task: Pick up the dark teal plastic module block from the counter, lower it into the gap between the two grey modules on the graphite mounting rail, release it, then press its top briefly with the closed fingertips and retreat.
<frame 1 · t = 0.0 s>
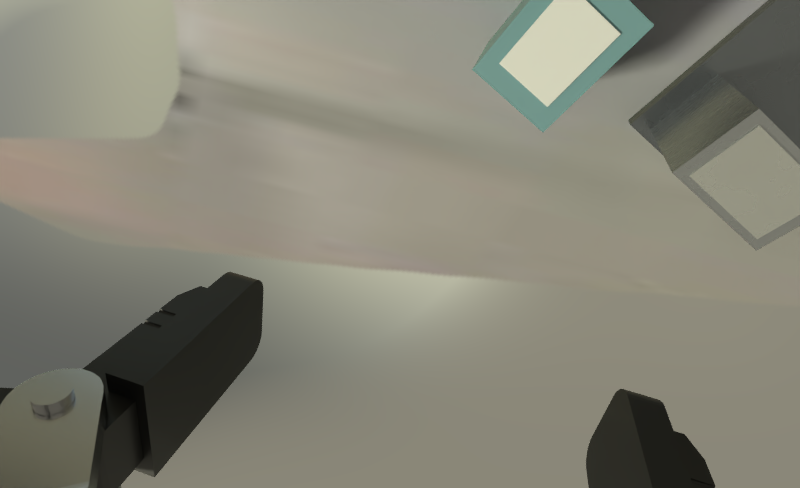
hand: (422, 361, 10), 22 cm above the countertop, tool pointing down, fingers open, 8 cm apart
module: (555, 24, 26), on the countertop
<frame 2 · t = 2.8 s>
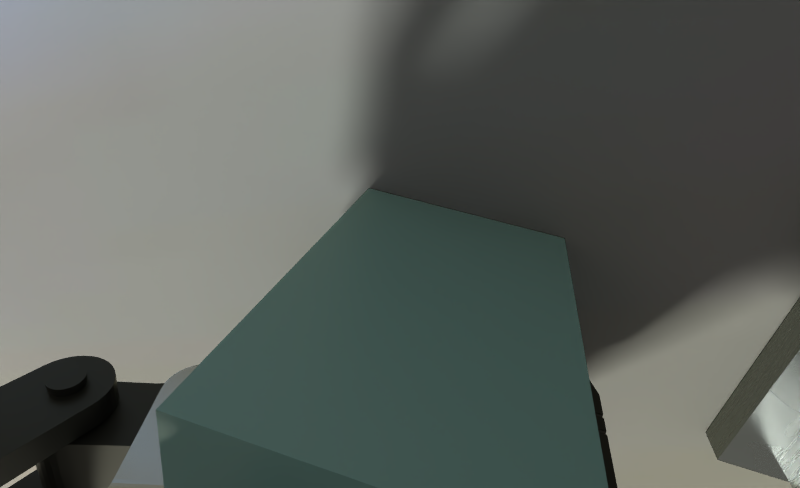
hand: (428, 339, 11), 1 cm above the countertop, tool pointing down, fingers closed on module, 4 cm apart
module: (436, 318, 12), on the countertop, touching gripper
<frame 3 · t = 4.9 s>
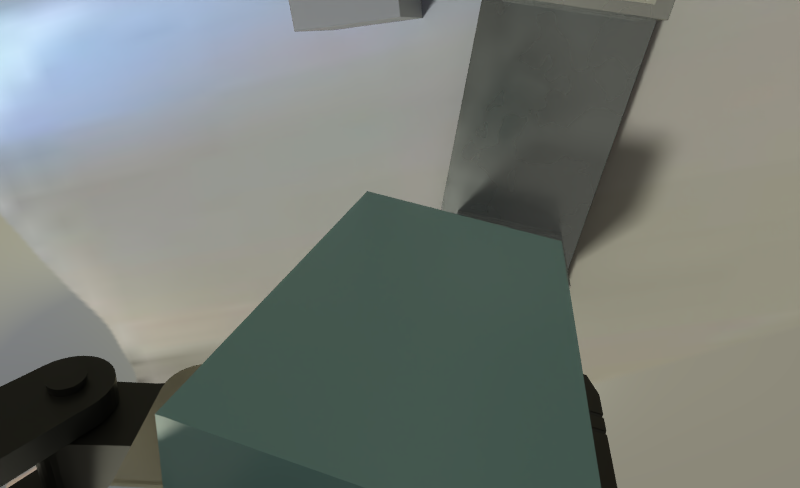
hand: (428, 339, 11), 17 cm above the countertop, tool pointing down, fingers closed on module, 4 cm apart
module: (434, 320, 12), point 17 cm above the countertop, touching gripper
rail: (534, 124, 25), on the countertop
when the fingers open (3 cm above the countertop, at t = 7.3 s): module drops 1 cm, resting on rail.
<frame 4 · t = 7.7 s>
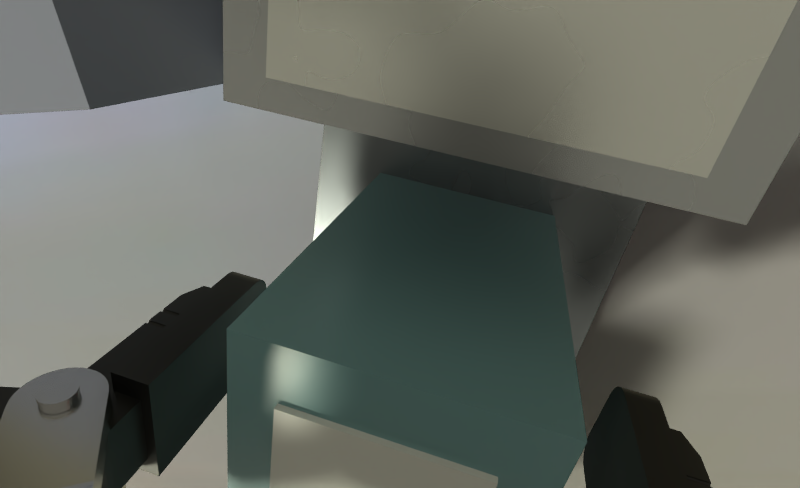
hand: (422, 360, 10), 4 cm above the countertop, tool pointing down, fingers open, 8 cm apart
module: (440, 291, 13), point 1 cm above the countertop, touching rail
rail: (448, 277, 14), on the countertop
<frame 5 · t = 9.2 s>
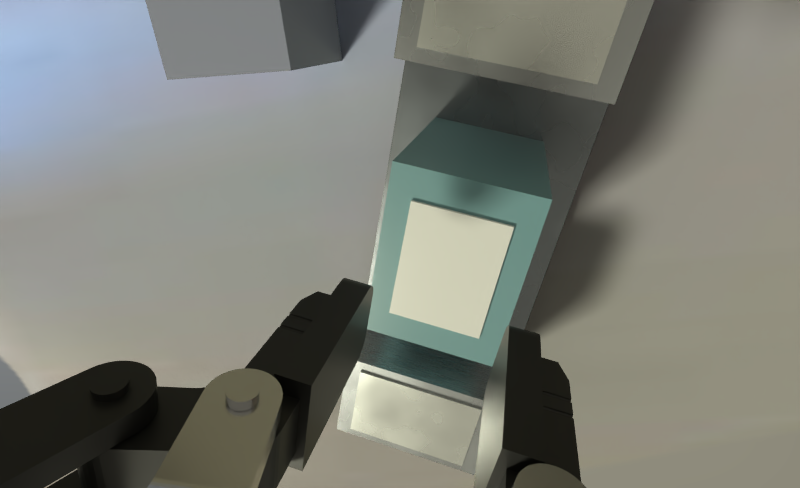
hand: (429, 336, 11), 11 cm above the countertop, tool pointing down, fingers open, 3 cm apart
module: (471, 196, 20), point 1 cm above the countertop, touching rail
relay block: (280, 1, 20), on the countertop
rail: (475, 190, 21), on the countertop
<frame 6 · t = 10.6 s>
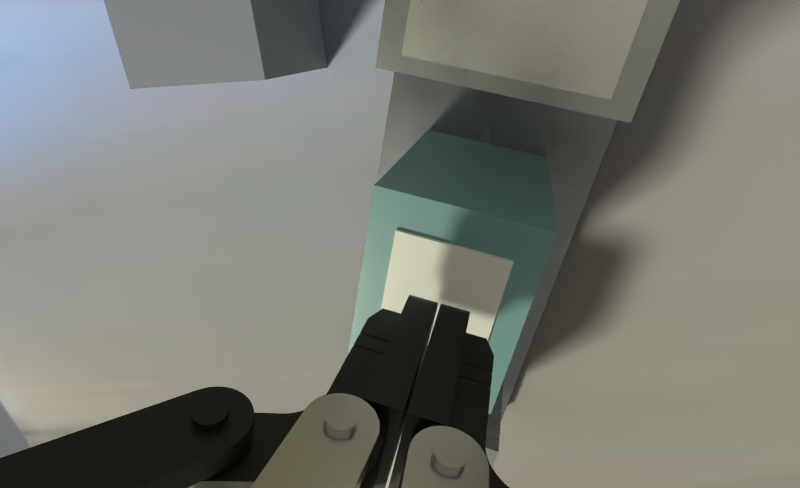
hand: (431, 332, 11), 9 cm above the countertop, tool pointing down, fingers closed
module: (467, 215, 19), point 1 cm above the countertop, touching rail
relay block: (259, 3, 18), on the countertop
rail: (472, 208, 19), on the countertop
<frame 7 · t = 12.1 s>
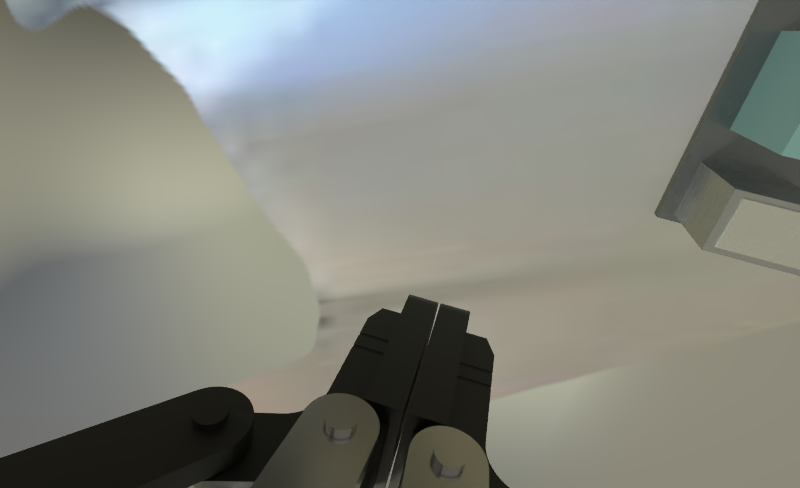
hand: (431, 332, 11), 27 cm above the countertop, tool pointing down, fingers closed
module: (792, 90, 29), point 1 cm above the countertop, touching rail
rail: (788, 88, 29), on the countertop
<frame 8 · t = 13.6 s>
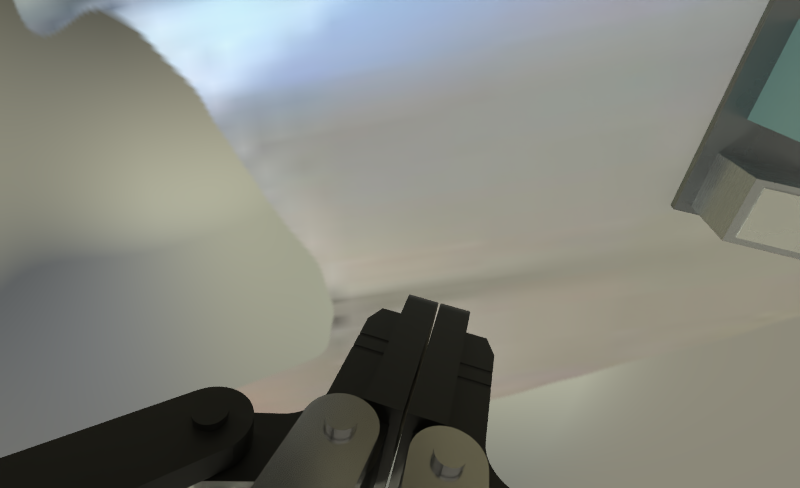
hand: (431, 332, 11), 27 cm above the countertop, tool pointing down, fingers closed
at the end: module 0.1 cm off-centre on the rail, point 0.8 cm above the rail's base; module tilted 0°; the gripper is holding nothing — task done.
